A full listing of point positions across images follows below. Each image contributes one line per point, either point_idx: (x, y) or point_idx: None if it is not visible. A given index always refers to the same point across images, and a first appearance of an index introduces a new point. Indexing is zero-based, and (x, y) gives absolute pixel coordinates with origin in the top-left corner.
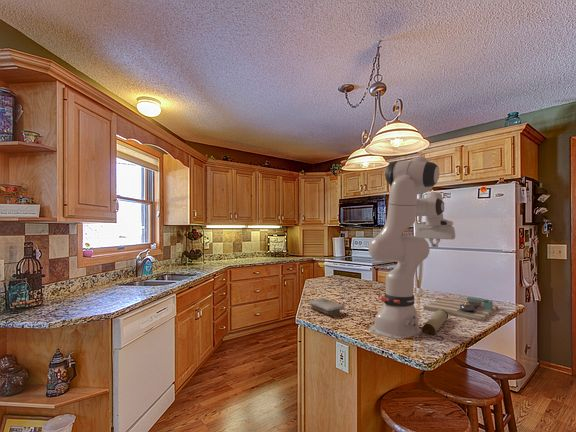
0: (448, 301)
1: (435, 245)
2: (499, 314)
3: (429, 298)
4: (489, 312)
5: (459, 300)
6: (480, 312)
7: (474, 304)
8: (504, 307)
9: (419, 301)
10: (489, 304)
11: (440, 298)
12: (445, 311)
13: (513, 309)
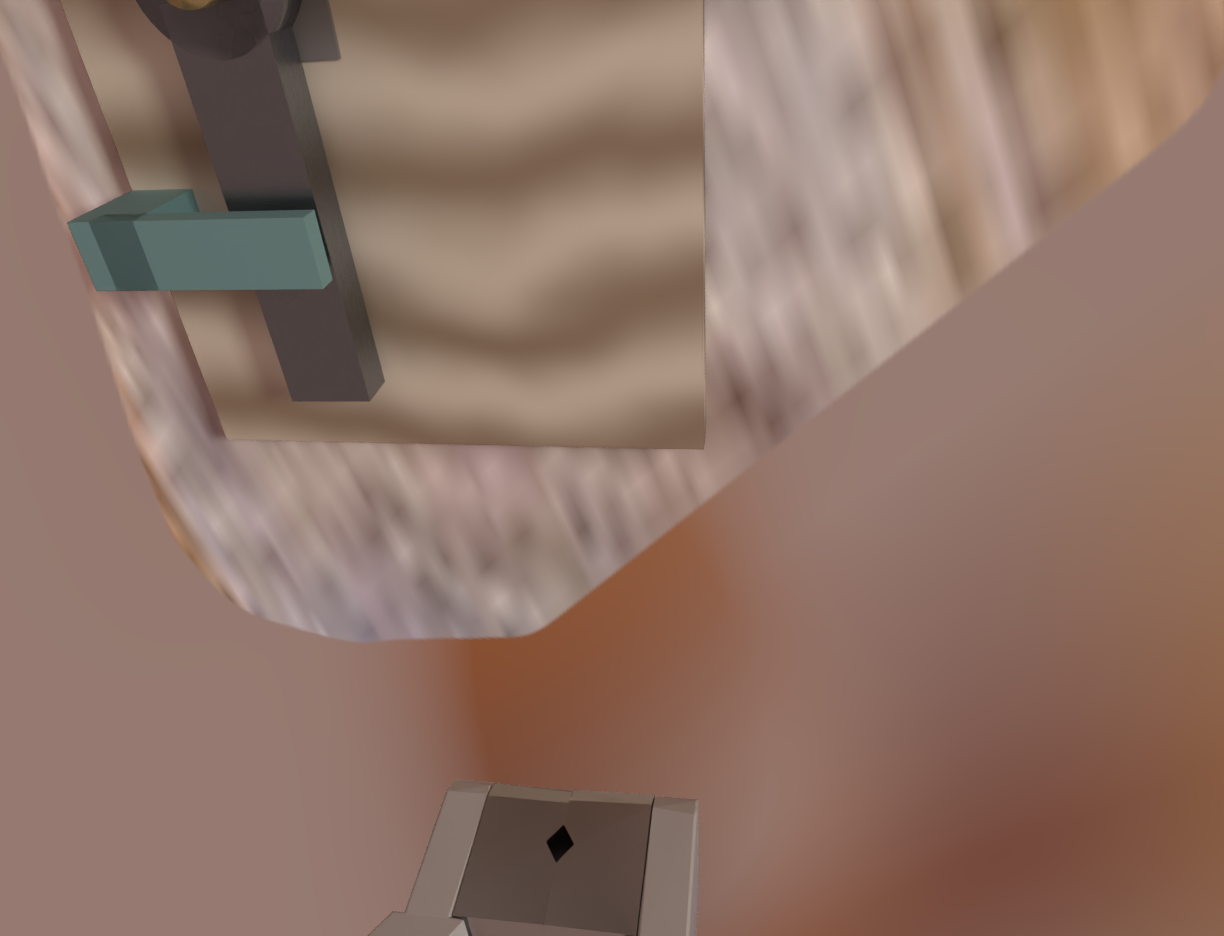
0: (580, 261)
1: (487, 845)
2: None
3: (847, 351)
4: (110, 127)
5: (522, 388)
6: (134, 29)
7: (199, 118)
8: (234, 490)
9: (906, 110)
10: (100, 210)
11: (702, 333)
12: None
13: (167, 475)
